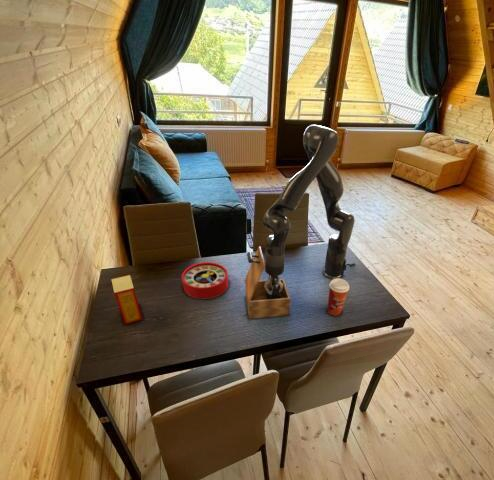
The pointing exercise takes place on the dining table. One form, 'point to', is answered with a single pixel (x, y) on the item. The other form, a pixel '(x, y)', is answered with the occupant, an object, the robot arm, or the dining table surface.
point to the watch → (268, 291)
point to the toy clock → (205, 280)
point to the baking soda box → (126, 299)
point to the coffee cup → (337, 296)
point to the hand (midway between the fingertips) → (273, 294)
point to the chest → (268, 302)
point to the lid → (254, 271)
